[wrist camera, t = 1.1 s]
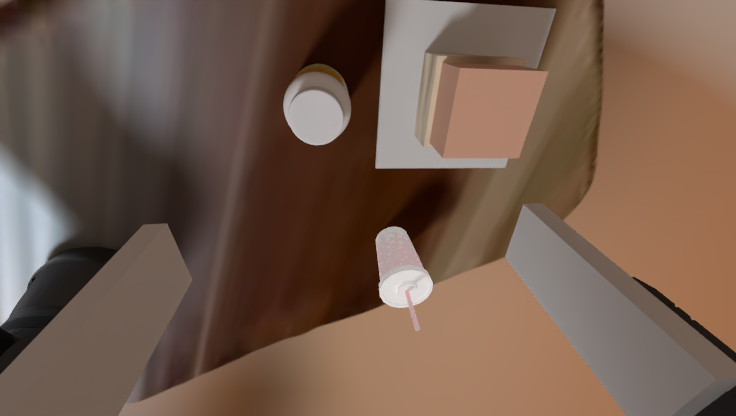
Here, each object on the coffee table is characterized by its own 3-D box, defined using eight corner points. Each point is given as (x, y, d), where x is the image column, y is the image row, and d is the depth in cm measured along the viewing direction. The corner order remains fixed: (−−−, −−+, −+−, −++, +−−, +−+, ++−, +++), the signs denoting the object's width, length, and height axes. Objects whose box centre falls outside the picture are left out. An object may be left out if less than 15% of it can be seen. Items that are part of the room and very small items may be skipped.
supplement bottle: (281, 78, 28) (260, 100, 19) (331, 52, 27) (331, 63, 19) (310, 128, 30) (302, 165, 22) (356, 106, 30) (365, 135, 21)
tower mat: (375, 166, 33) (375, 168, 33) (385, -2, 25) (386, -3, 25) (503, 166, 35) (505, 167, 35) (553, 9, 27) (556, 8, 26)
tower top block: (429, 142, 28) (442, 158, 25) (442, 62, 24) (460, 68, 21) (496, 143, 29) (518, 158, 25) (519, 65, 25) (548, 71, 22)
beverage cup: (373, 220, 38) (393, 308, 26) (418, 223, 39) (456, 308, 27) (367, 255, 41) (381, 348, 29) (408, 257, 42) (438, 347, 30)
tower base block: (413, 134, 31) (423, 147, 28) (424, 52, 27) (437, 55, 24) (482, 135, 32) (500, 147, 29) (503, 55, 28) (526, 59, 25)
